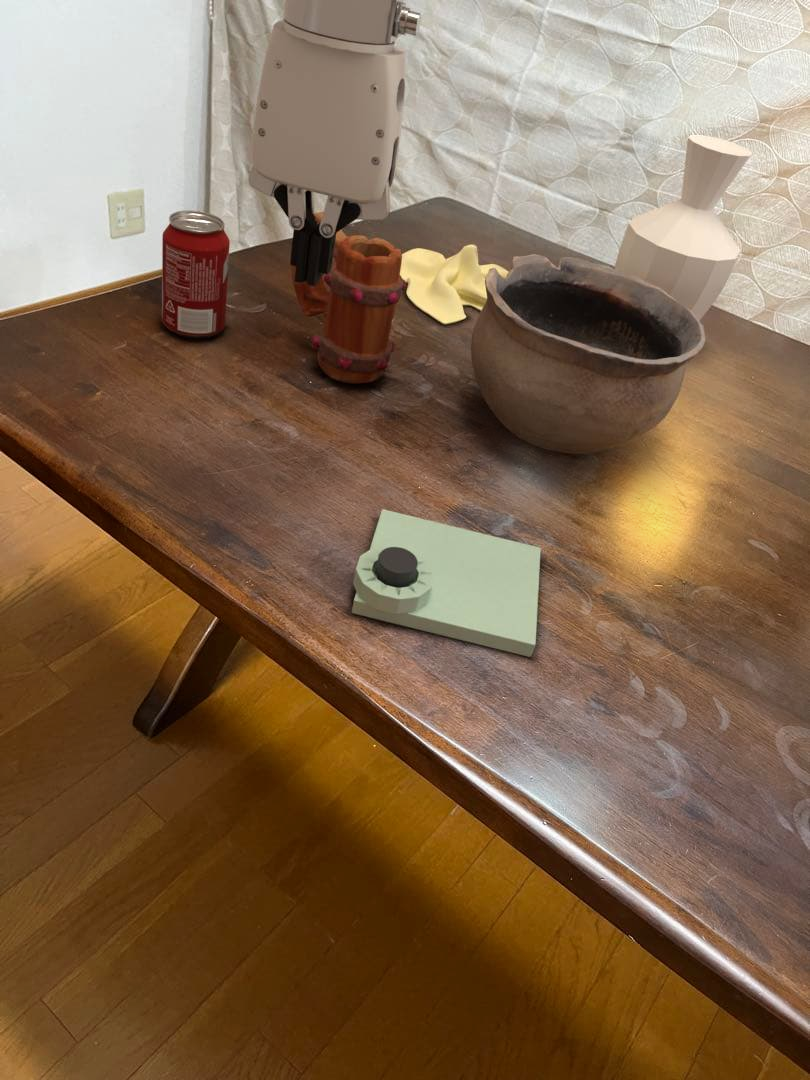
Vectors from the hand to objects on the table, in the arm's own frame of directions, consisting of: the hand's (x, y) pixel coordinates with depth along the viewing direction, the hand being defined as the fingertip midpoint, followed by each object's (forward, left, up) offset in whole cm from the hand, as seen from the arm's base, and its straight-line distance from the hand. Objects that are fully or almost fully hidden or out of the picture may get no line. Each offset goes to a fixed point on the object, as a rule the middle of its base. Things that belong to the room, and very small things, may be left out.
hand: (309, 277), depth 68 cm
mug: (0, +20, -18) cm, 27 cm away
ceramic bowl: (+25, +17, -18) cm, 35 cm away
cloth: (+11, +48, -18) cm, 53 cm away
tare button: (+12, -15, -15) cm, 25 cm away
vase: (+37, +47, -18) cm, 62 cm away
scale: (+17, -12, -18) cm, 27 cm away
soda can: (-16, +20, -18) cm, 32 cm away
